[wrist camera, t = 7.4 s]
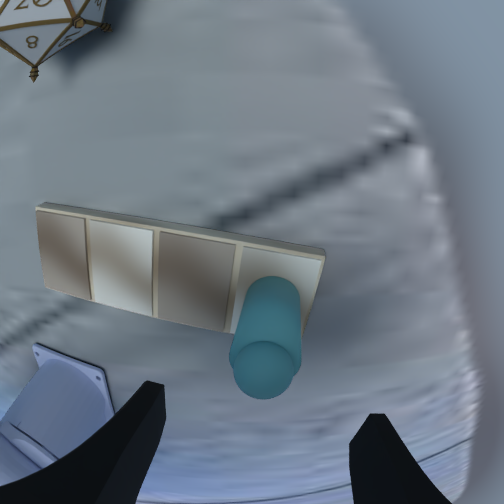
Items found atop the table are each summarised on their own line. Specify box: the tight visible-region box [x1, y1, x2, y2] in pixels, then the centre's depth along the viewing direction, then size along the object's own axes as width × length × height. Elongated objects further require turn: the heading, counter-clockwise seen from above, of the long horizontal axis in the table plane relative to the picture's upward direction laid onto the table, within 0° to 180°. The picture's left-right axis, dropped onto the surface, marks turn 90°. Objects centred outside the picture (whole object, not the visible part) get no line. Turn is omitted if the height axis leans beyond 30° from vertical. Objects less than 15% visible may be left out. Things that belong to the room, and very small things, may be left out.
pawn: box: [229, 276, 301, 399], centre depth 14 cm, size 3×3×7 cm
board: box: [36, 203, 326, 339], centre depth 18 cm, size 6×18×1 cm, turn 81°
